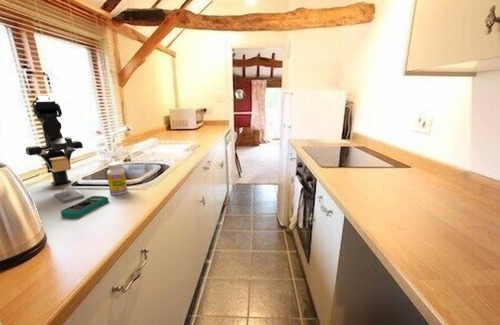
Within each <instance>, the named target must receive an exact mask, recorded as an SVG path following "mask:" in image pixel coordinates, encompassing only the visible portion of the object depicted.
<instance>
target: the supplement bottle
mask: <svg viewBox="0 0 500 325" xmlns="http://www.w3.org/2000/svg"><path fill="white" fill-rule="evenodd" d="M106 177H107V182H108V188H109V193H110V195H112V196H121V195H124V194H126V193H127V192H128V186H127V178H126V172H125V169H124V168H122V163H121V162H118V161H117V162H116V161H115V162H110V163H108V170H107V171H106Z"/></svg>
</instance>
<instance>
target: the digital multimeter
mask: <svg viewBox="0 0 500 325" xmlns="http://www.w3.org/2000/svg"><path fill="white" fill-rule="evenodd" d="M109 202H110V201H109V197H107V196H103V195H92V196H90V197H88V198H85V199H84V200H82V201H79V202H77V203H75V204H72V205H71V206H68V207H66V208H64V209H62V210H61V211H60V215H61V217H62V218H66V219H80V218H82V217H83V216H85V215H87V214H89V213H91V212H92V211H95V210H96V209H98V208H100V207H101V206H104V205H105V204H106V205H107V204H108V203H109Z"/></svg>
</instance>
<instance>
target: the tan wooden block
mask: <svg viewBox="0 0 500 325" xmlns="http://www.w3.org/2000/svg"><path fill="white" fill-rule="evenodd" d="M50 162H51V165H52V169H49V170H51V171H53V172H58V171H63V170H66V171H69V170H68V169H70V166H71V165H70V166H69V161H68V158H67V157H64V156H63V157H56V158H50ZM70 170H71V169H70Z"/></svg>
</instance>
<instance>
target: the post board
mask: <svg viewBox="0 0 500 325" xmlns="http://www.w3.org/2000/svg"><path fill="white" fill-rule="evenodd" d="M64 190H65V191H60V192H56V193H53V196H54V197H55V198H56V199H58V200H59V201H60V202H62V203H63V204H64V203H68V202H73V201H75V200H79V199H82V198H84V197H85V196H84V194H83V193H82V192H81V193H80V192H79V191H77V190H75V189H73V188H72V189H70V186H66V187H64Z"/></svg>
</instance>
